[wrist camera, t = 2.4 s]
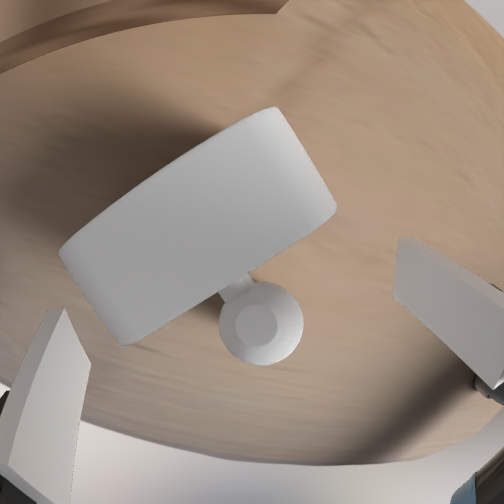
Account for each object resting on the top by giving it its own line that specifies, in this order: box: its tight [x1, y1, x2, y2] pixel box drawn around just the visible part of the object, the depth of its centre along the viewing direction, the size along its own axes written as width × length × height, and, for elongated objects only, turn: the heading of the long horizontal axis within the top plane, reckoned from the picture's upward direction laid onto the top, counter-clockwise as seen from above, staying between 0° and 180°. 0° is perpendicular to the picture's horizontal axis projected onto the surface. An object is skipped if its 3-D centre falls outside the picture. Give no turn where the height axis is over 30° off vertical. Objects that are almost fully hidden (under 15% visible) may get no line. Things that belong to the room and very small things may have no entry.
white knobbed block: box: [58, 107, 337, 365], centre depth 13 cm, size 8×10×10 cm
